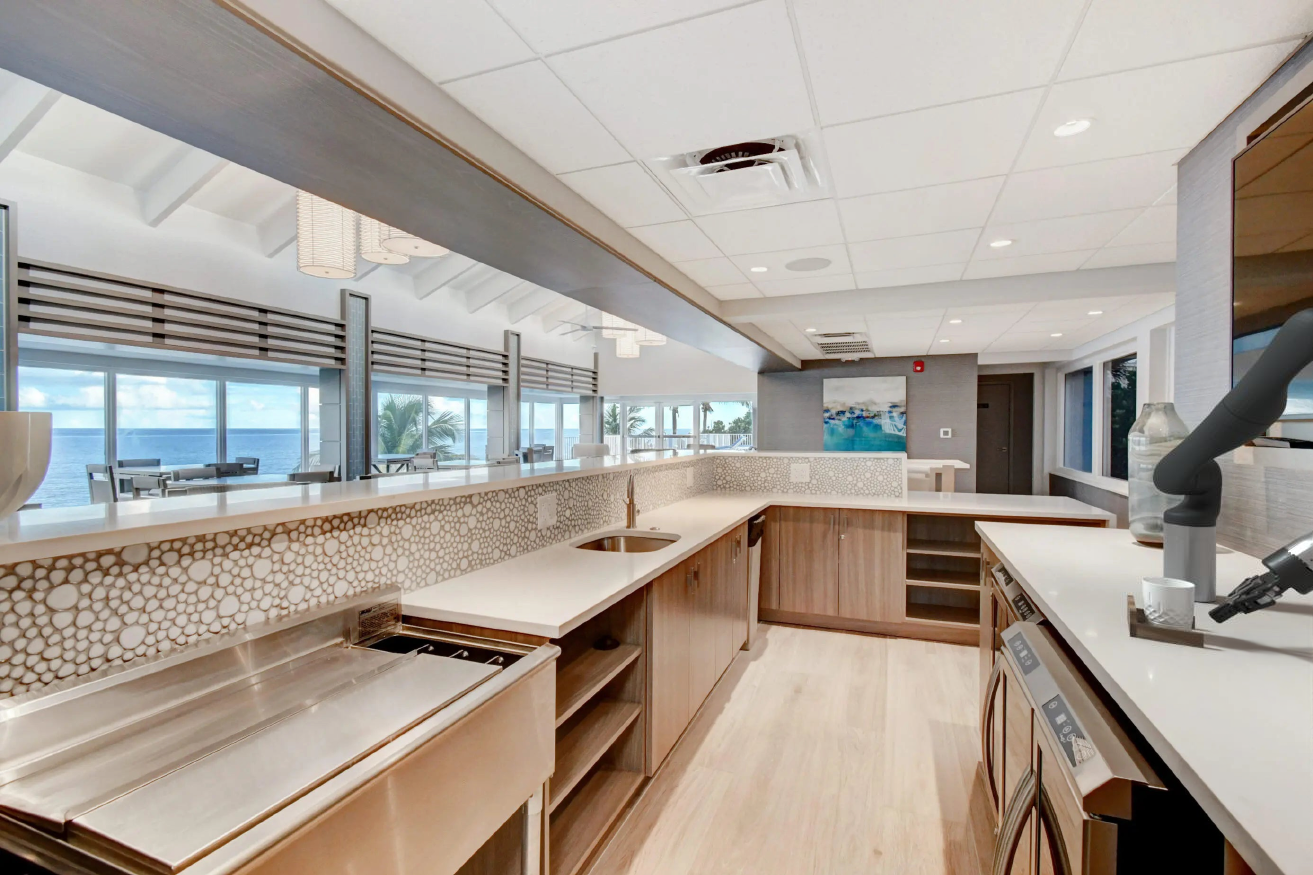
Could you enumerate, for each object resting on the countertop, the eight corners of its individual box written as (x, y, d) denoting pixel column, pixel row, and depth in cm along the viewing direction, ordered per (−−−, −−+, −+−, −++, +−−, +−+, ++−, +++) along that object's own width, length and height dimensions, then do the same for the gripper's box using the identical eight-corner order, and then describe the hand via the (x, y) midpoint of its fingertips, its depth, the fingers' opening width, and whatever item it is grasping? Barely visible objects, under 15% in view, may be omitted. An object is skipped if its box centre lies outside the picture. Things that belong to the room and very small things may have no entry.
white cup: (1204, 641, 110) (1203, 588, 110) (1152, 637, 113) (1151, 585, 113) (1183, 628, 117) (1183, 578, 117) (1135, 624, 120) (1135, 575, 120)
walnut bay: (1127, 618, 124) (1127, 594, 124) (1194, 627, 117) (1194, 603, 117) (1129, 636, 113) (1129, 610, 113) (1203, 647, 107) (1203, 620, 107)
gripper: (1277, 539, 110) (1189, 594, 118) (1295, 552, 100) (1198, 611, 107) (1319, 571, 107) (1226, 625, 115) (1342, 587, 97) (1238, 646, 104)
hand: (1213, 618), depth 111 cm, fingers closed
